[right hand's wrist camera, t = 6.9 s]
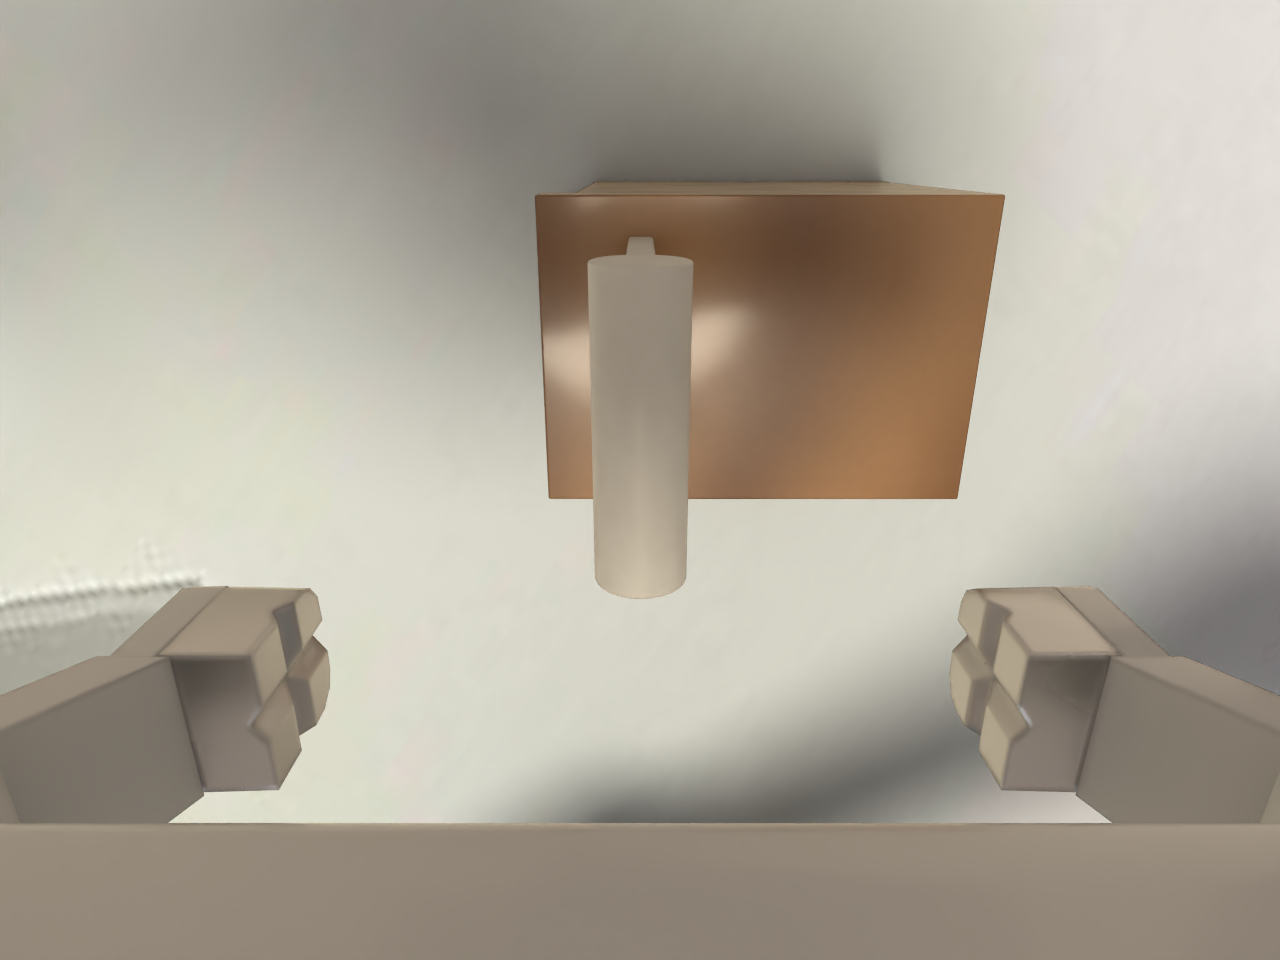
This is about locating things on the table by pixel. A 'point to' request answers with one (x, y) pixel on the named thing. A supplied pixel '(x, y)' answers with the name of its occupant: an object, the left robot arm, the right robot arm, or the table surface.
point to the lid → (754, 354)
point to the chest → (763, 187)
